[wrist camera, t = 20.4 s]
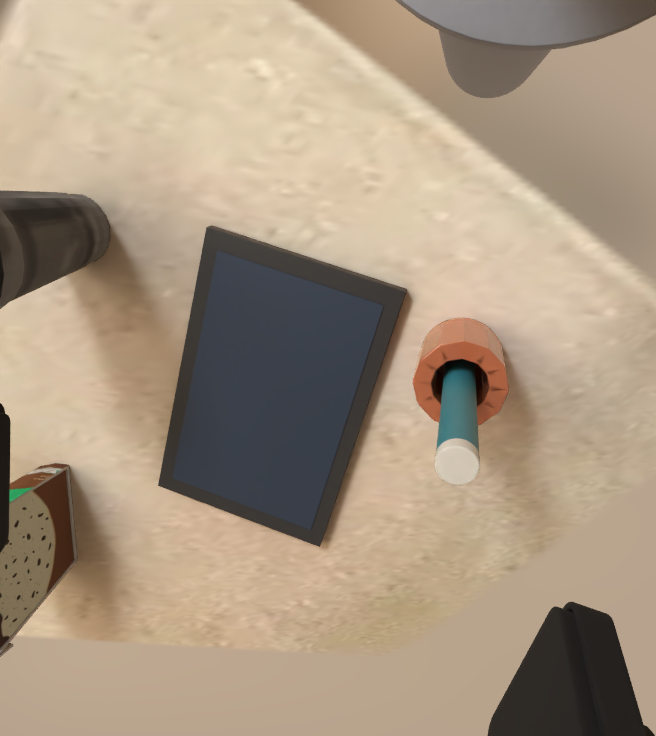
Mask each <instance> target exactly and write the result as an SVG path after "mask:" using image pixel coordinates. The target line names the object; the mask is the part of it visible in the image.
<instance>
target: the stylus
mask: <svg viewBox="0 0 656 736" xmlns="http://www.w3.org/2000/svg"><path fill="white" fill-rule="evenodd" d="M435 470H436V472H437V474H438V476H439V477H440V478H441V479H442V480H444V481H445V482H447V483H449V484H452V485H464V484H468V483H470V482H471V481H473V480H474V479H475V478H476V477H477V475H478V473H479V471H480V456H479V442H478V420H477V398H476V375H475V363H474V362H471V361H468V360H465V359H458V360H452V361H447V362H446V363H445V368H444V378H443V388H442V398H441V409H440V419H439V429H438V440H437V450H436V455H435Z"/></svg>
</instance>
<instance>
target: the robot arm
mask: <svg viewBox="0 0 656 736" xmlns="http://www.w3.org/2000/svg"><path fill="white" fill-rule="evenodd" d="M9 493H10V418H9V416H8V415H7V414H5V411H4V407H3V406H2V404H0V553H1V551H2V550H3V549H4V547H5V545H6V543H7V540H8V537H9ZM488 736H654V734H653V733H652V731H651V730H650V729H649V728H648V727H647V726H645V725H643V722H642V718H641V715H640V711H639V708H638V705H637V701H636V698H635V695H634V691H633V687H632V684H631V681H630V677H629V674H628V670H627V667H626V663H625V660H624V657H623V653H622V650H621V647H620V643H619V640H618V636H617V633H616V629H615V626H614V623H613V620H612V618H611V617H610V616H609V615H608V614H606V613H603V612H600V611H597V610H594V609H591V608H589V607H586V606H583V605H580V604H577V603H574V602H569V603H567V604H566V605H565V606H564V608H563V609H562V608H559V607H553V608H552V609H551V610H550V612H549V614H548V615H547V617H546V619H545V621H544V623H543V624H542V626H541V628H540V630H539V632H538V634H537V636H536V637H535V639H534V641H533V643H532V645H531V647H530V648H529V650H528V652H527V654H526V656H525V658H524V659H523V661H522V663H521V665H520V667H519V669H518V670H517V672H516V674H515V676H514V678H513V680H512V682H511V684H510V685H509V687H508V689H507V691H506V693H505V694H504V696H503V698H502V700H501V702H500V704H499V705H498V707H497V709H496V711H495V713H494V715H493V717H492V719H491V722H490V725H489V730H488Z"/></svg>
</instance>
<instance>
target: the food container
mask: <svg viewBox="0 0 656 736" xmlns="http://www.w3.org/2000/svg"><path fill="white" fill-rule="evenodd" d="M76 562H77V549H76V538H75V527H74V516H73V505H72V494H71V483H70V472H69V465H65V464H50V465H44V466H40V467H38V468H37V469H35V470H33V471H31V472H30V473H28V474H26V475H25V476H23V477H21V478H19V479H18V480H16V481H14V482H12V483H11V484H10V493H9V537H8V540H7V543H6V545H5V547H4V549H3V550H2V551H1V553H0V657H1V656H2V655H3V654H4V653H6V652H7V651H8V650H9V649H10V648H11V647H13V644H11V643H9V642H10V641H11V640H12V639H13V638H14V636H15V635H16V634H17V633H18V632H19V630H20V629H21V628H22V627H23V626H24V624H25V623H26V622H27V621H28V619H29V618H30V617H31V616H32V615H33V613H34V612H35V611H36V610H37V609H38V607H39V606H40V605H41V604H42V603H43V601H44V600H45V599H46V598H47V597H48V595H49V594H50V593H51V592H52V591H53V589H54V588H55V587H56V586H57V585H58V583H59V582H60V581H61V580H62V579H63V577H64V576H65V575H66V574H67V573H68V571H69V570H70V569H71V568H72V566H73V565H74V564H75V563H76Z"/></svg>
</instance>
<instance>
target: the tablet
mask: <svg viewBox="0 0 656 736" xmlns="http://www.w3.org/2000/svg"><path fill="white" fill-rule="evenodd" d="M406 291H407V289H404V288H401V287H398V286H395V285H392V284H389V283H386V282H383V281H380V280H377V279H374V278H371V277H368V276H365V275H362V274H359V273H355V272H352V271H349V270H346V269H343V268H340V267H337V266H334V265H331V264H328V263H325V262H322V261H319V260H316V259H313V258H310V257H306V256H303V255H300V254H297V253H294V252H291V251H288V250H285V249H282V248H279V247H276V246H273V245H270V244H267V243H264V242H260V241H257V240H254V239H251V238H248V237H245V236H242V235H239V234H236V233H233V232H230V231H227V230H224V229H221V228H218V227H215V226H209V227H207V228H206V234H205V239H204V244H203V250H202V255H201V260H200V266H199V271H198V276H197V282H196V287H195V292H194V298H193V303H192V308H191V314H190V319H189V324H188V330H187V335H186V340H185V346H184V351H183V356H182V362H181V367H180V372H179V378H178V383H177V388H176V394H175V399H174V404H173V410H172V415H171V420H170V426H169V431H168V436H167V442H166V447H165V452H164V458H163V463H162V468H161V474H160V479H159V484H158V486H161V487H163V488H166V489H169V490H171V491H174V492H176V493H179V494H182V495H184V496H187V497H190V498H192V499H195V500H198V501H200V502H203V503H205V504H208V505H211V506H213V507H216V508H219V509H221V510H224V511H227V512H229V513H232V514H235V515H237V516H240V517H242V518H245V519H248V520H250V521H253V522H256V523H258V524H261V525H264V526H266V527H269V528H271V529H274V530H277V531H279V532H282V533H285V534H287V535H290V536H293V537H295V538H298V539H300V540H303V541H306V542H308V543H311V544H314V545H316V546H319V547H320V545H321V542H322V540H323V537H324V534H325V531H326V528H327V525H328V522H329V519H330V516H331V513H332V510H333V507H334V504H335V501H336V498H337V495H338V492H339V489H340V486H341V483H342V480H343V477H344V474H345V472H346V469H347V466H348V463H349V460H350V457H351V454H352V451H353V448H354V445H355V442H356V439H357V436H358V433H359V430H360V427H361V424H362V421H363V418H364V415H365V412H366V409H367V406H368V403H369V400H370V398H371V395H372V392H373V389H374V386H375V383H376V380H377V377H378V374H379V371H380V368H381V365H382V362H383V359H384V356H385V353H386V350H387V347H388V344H389V341H390V338H391V335H392V332H393V329H394V326H395V324H396V321H397V318H398V315H399V312H400V309H401V306H402V303H403V300H404V297H405V294H406Z"/></svg>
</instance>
